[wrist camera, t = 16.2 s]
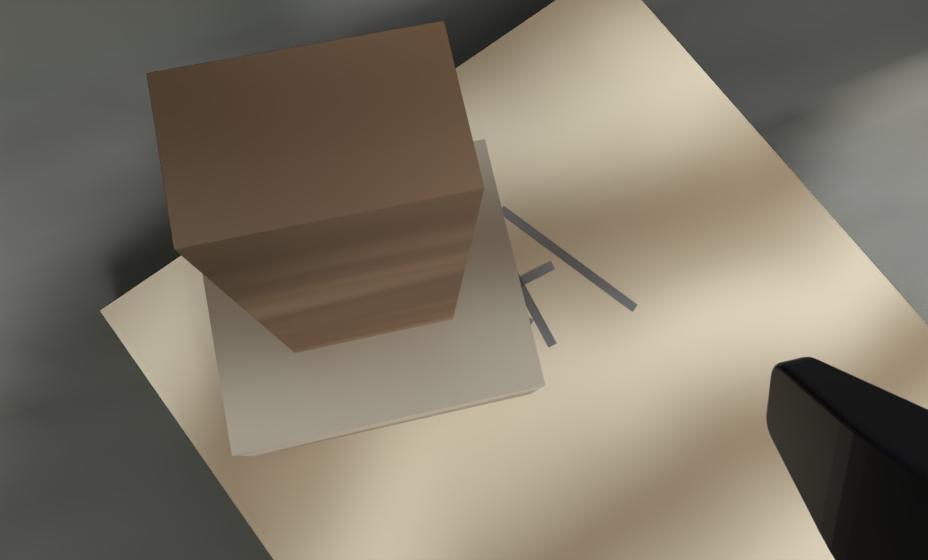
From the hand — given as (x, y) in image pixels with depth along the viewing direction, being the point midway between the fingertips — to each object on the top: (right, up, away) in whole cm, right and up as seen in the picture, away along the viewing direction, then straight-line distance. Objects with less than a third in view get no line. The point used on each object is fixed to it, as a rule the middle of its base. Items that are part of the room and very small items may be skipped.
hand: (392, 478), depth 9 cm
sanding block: (-2, +1, +12) cm, 12 cm away
